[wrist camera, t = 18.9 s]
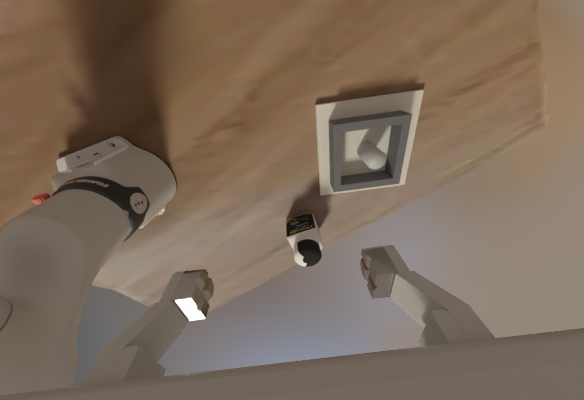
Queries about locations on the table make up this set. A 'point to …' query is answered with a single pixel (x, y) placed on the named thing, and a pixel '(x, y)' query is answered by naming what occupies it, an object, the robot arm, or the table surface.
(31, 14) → the table surface
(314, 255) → the medicine bottle
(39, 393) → the robot arm
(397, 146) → the grey rectangular frame
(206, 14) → the table surface
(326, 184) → the post stand
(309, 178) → the table surface
